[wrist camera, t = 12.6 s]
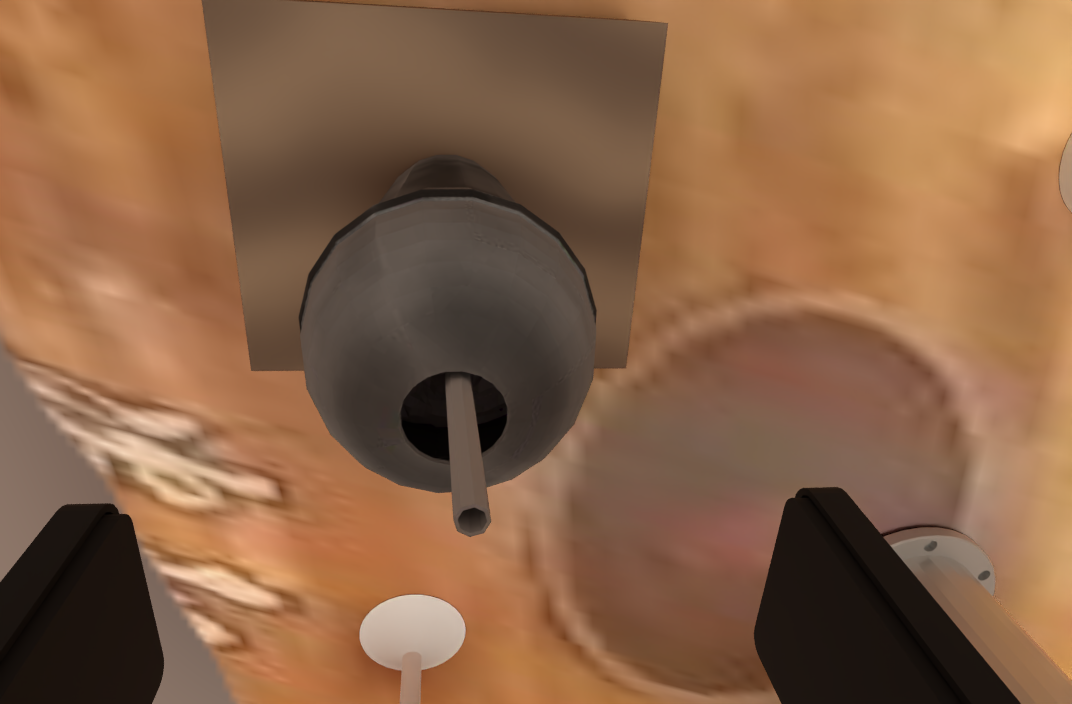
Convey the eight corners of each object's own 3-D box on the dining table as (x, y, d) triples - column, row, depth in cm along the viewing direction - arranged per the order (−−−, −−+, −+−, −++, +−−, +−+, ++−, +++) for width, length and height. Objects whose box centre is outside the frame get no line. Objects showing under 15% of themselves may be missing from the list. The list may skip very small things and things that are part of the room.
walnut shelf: (598, 315, 37) (625, 368, 32) (280, 314, 35) (251, 370, 30) (628, 19, 31) (668, 23, 26) (245, -4, 29) (201, -5, 24)
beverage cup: (345, 287, 29) (187, 760, 11) (359, 99, 26) (171, 320, 8) (523, 310, 30) (644, 762, 12) (556, 133, 27) (783, 388, 9)
